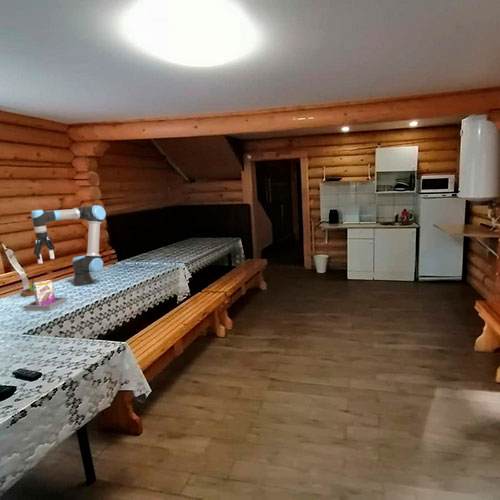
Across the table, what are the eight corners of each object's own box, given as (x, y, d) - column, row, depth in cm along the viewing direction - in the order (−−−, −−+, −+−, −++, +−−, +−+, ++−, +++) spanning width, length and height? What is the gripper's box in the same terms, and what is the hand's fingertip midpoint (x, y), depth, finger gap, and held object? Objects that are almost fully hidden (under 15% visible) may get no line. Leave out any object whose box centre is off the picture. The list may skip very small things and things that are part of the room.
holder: (43, 302, 273) (43, 297, 272) (66, 301, 270) (66, 297, 269) (25, 310, 255) (24, 305, 255) (49, 310, 252) (49, 305, 252)
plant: (49, 287, 314) (47, 274, 312) (49, 293, 297) (47, 279, 295) (21, 292, 305) (19, 278, 303) (20, 298, 288) (17, 284, 286)
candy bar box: (38, 307, 257) (34, 284, 254) (36, 306, 260) (32, 283, 257) (56, 303, 264) (52, 280, 261) (53, 302, 268) (50, 279, 265)
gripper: (47, 229, 284) (52, 257, 288) (24, 235, 259) (30, 265, 264) (56, 228, 283) (61, 256, 287) (34, 234, 258) (40, 265, 263)
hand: (46, 261), depth 276 cm, fingers open, 13 cm apart
